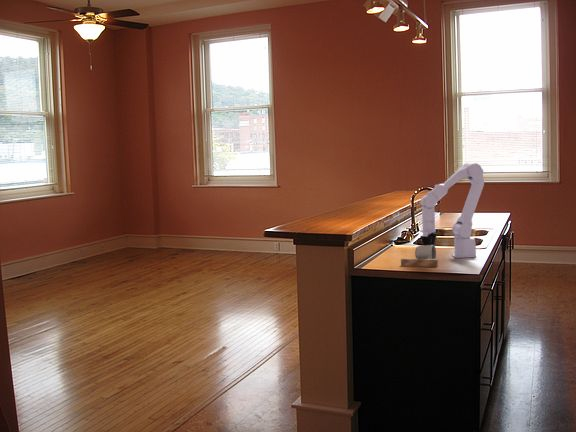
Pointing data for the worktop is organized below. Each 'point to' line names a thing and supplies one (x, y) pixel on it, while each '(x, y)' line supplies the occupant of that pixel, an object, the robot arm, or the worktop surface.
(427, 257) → the ceramic mug
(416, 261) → the rail
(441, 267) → the worktop surface
